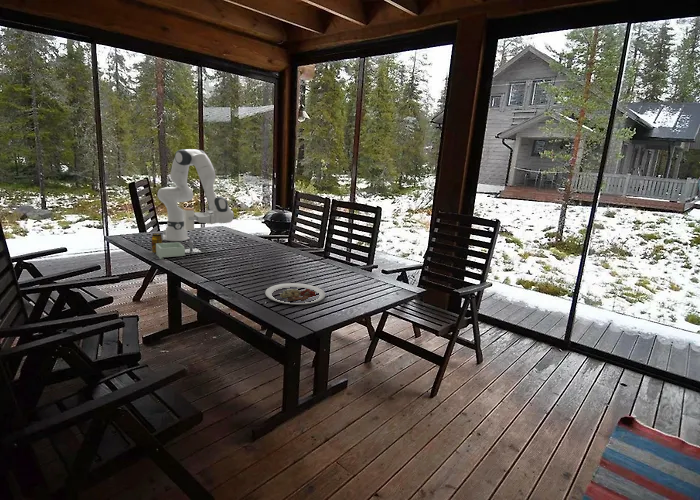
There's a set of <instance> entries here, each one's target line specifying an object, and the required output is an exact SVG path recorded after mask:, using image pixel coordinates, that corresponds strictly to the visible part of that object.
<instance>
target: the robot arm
mask: <svg viewBox="0 0 700 500" xmlns="http://www.w3.org/2000/svg"><path fill="white" fill-rule="evenodd" d="M172 161H173V162H172V165H171V170H170V176H169V177H170V181H172V183H174V184H175V186H165V187H161V188H159V189H158V191H157V199H158V200H159V201H160V202H161V203H162V204H164V206H165V207H166V210H167V211H166V212H167V222H166V223H167V226H166V228H165V229H163V230H162V231H163V235H162V241H168V242H181V241H182V242H183V241H187V240H190V239H191V238H190V237H189V236H188V230H185V229H184V208H181V207H180V206H179V205H178V203H186V202H190V201H192V199H193V198H194V192H193V190H192V188H190V186H189V184H188V175H189V170H190V166H194V167H195V169H196V172H197V175H198V177H199V180H200V183H201V185H202V189H203V191H204V195H205V199H206V201H207V210H205V212H200V211H199V212H198V211H196V212H195V211H194V217H189V220H194V221H196V222H198V223H200V224H207V225H213V224H214V225H215V224H229V223H231V222H233V220H234V217H235V214H234V211H233V210H232V209H231V208H230V205H229V204H228V203H229V202H228V200H227V198H225V197H224V196H220V195H219V196H216V193H215V189H214V186H215V185H214V183H215V179H216V177H217V176H216V171H215V168H214V165H213V163H212V162H211V159H210V157H209V156H208V154H206V152H205V151H204V150H202V149H193V148H188V149H179V150H177V151H175V154H174V159H173V160H172Z"/></svg>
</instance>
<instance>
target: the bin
mask: <svg viewBox="0 0 700 500" xmlns="http://www.w3.org/2000/svg"><path fill="white" fill-rule="evenodd" d="M185 249H186V247H185V246H184V245H183V244H182V243H181V241H175V242H162V243H156V253H155V255H156V256H157V257H158V258H159V260H164V258H169V257H170V258H171V257H183V256H184V257H185V256H186V253H185Z"/></svg>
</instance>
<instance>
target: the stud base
mask: <svg viewBox="0 0 700 500" xmlns="http://www.w3.org/2000/svg"><path fill="white" fill-rule="evenodd" d="M201 252H202V251H201V250H200V249H198V248H196V247H195V248H194V242H193V240H192V241H189V248H185V254H187V253H188V254H189V253H190V254H191V253H201Z"/></svg>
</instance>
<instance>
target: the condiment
mask: <svg viewBox="0 0 700 500" xmlns="http://www.w3.org/2000/svg"><path fill="white" fill-rule="evenodd" d="M156 243H163V237H162V233H158V232H157V233H152V237H151V251H150V253H152V254H156Z"/></svg>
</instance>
